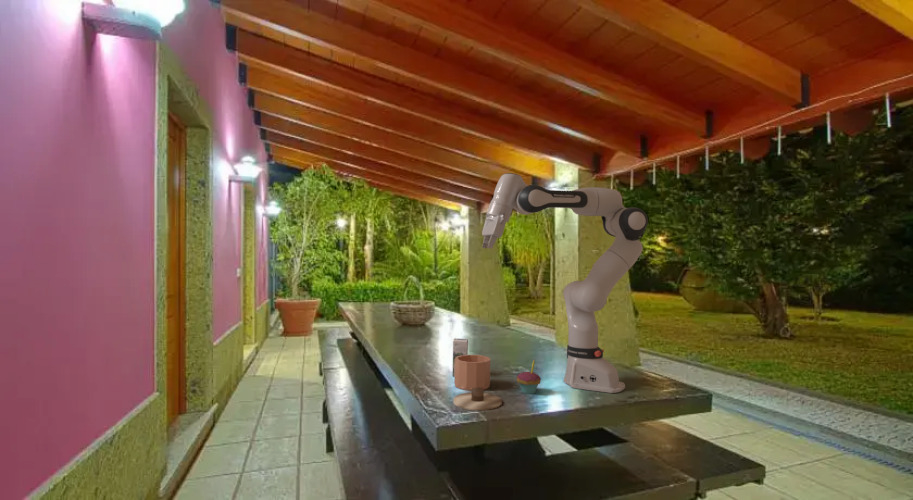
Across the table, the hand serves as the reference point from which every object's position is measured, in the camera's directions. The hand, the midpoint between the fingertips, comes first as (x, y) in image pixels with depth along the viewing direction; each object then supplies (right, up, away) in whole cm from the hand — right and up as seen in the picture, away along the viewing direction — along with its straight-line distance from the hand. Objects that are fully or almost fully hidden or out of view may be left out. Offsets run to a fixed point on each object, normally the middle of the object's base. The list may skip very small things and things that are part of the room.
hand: (486, 248), depth 175 cm
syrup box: (-10, -51, +11) cm, 54 cm away
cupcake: (+14, -52, -10) cm, 54 cm away
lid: (-5, -51, -22) cm, 56 cm away
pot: (-5, -51, -3) cm, 52 cm away
